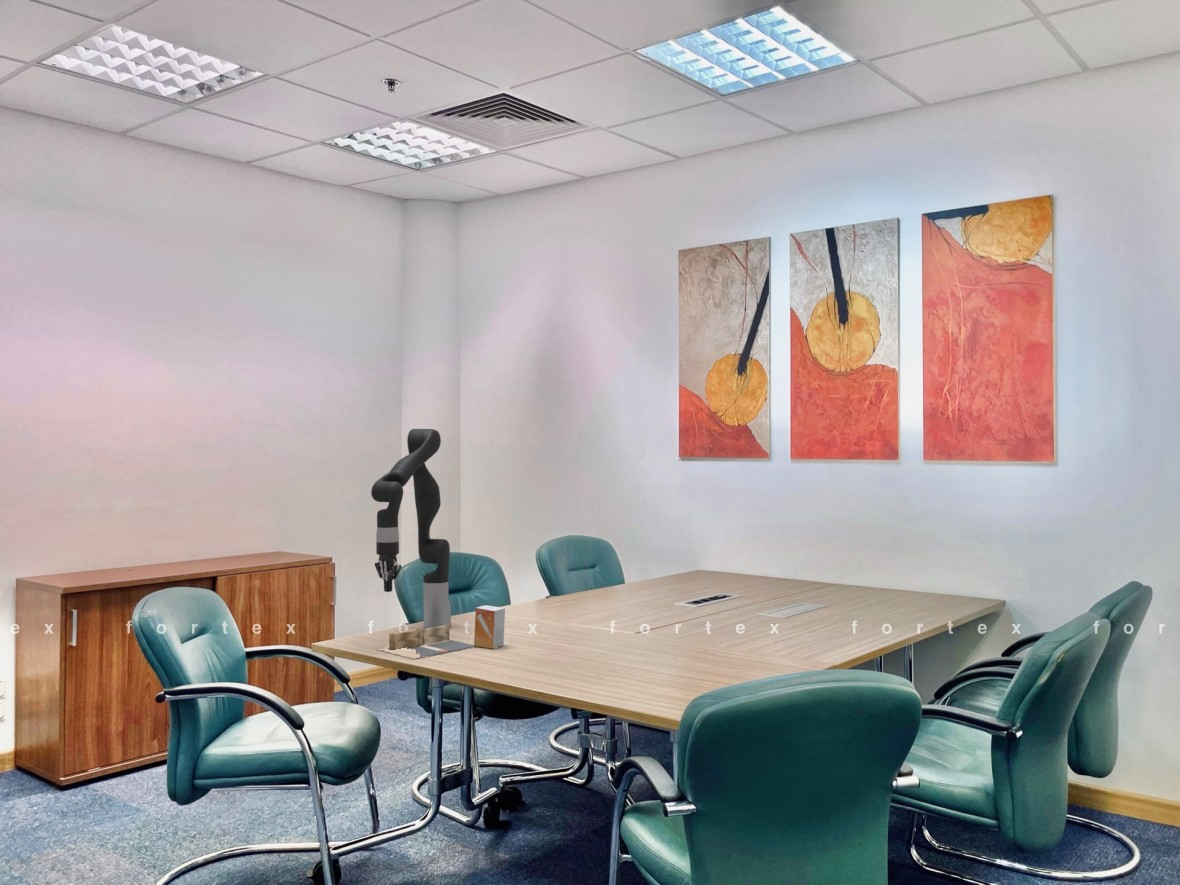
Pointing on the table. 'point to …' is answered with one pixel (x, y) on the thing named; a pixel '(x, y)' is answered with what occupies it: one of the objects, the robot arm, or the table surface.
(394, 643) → the fence gate
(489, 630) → the small box
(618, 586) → the table surface
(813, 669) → the table surface
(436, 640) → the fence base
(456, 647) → the card
